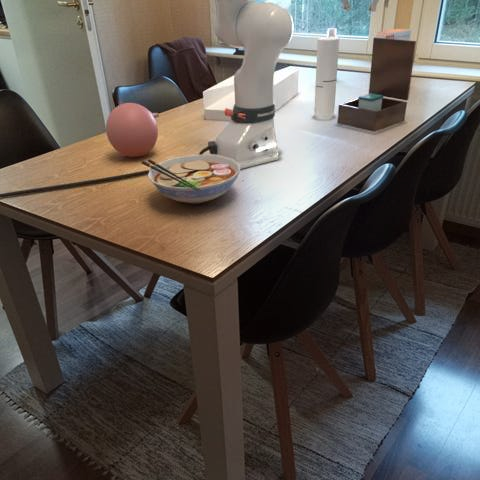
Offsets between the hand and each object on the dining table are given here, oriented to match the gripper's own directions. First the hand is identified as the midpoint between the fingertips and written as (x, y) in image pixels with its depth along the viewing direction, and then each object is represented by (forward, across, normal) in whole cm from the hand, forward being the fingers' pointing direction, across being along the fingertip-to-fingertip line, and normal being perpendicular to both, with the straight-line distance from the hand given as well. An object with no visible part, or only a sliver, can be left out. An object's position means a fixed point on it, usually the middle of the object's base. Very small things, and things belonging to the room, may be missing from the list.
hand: (359, 10), depth 145 cm
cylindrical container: (+34, -15, +3) cm, 37 cm away
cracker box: (+35, -26, +57) cm, 72 cm away
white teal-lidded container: (+33, +3, +5) cm, 34 cm away
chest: (+34, +3, +7) cm, 35 cm away
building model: (+34, -47, -1) cm, 58 cm away
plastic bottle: (+35, -56, +55) cm, 86 cm away
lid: (+18, +3, +15) cm, 23 cm away
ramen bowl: (+32, +9, -73) cm, 80 cm away
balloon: (+32, -32, -64) cm, 78 cm away
